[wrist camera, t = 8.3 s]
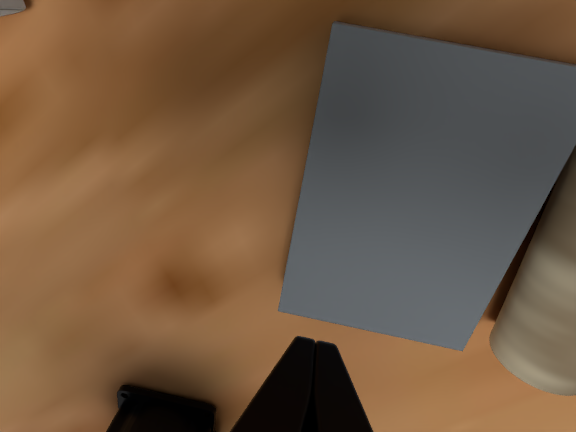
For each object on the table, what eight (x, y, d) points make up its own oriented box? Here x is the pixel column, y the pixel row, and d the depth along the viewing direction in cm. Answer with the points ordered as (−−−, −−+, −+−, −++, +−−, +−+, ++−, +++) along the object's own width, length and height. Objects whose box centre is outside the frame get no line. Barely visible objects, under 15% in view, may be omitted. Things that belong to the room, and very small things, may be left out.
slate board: (284, 283, 19) (277, 311, 18) (334, 20, 14) (332, 22, 12) (690, 370, 18) (726, 408, 17) (934, 129, 13) (1028, 148, 11)
